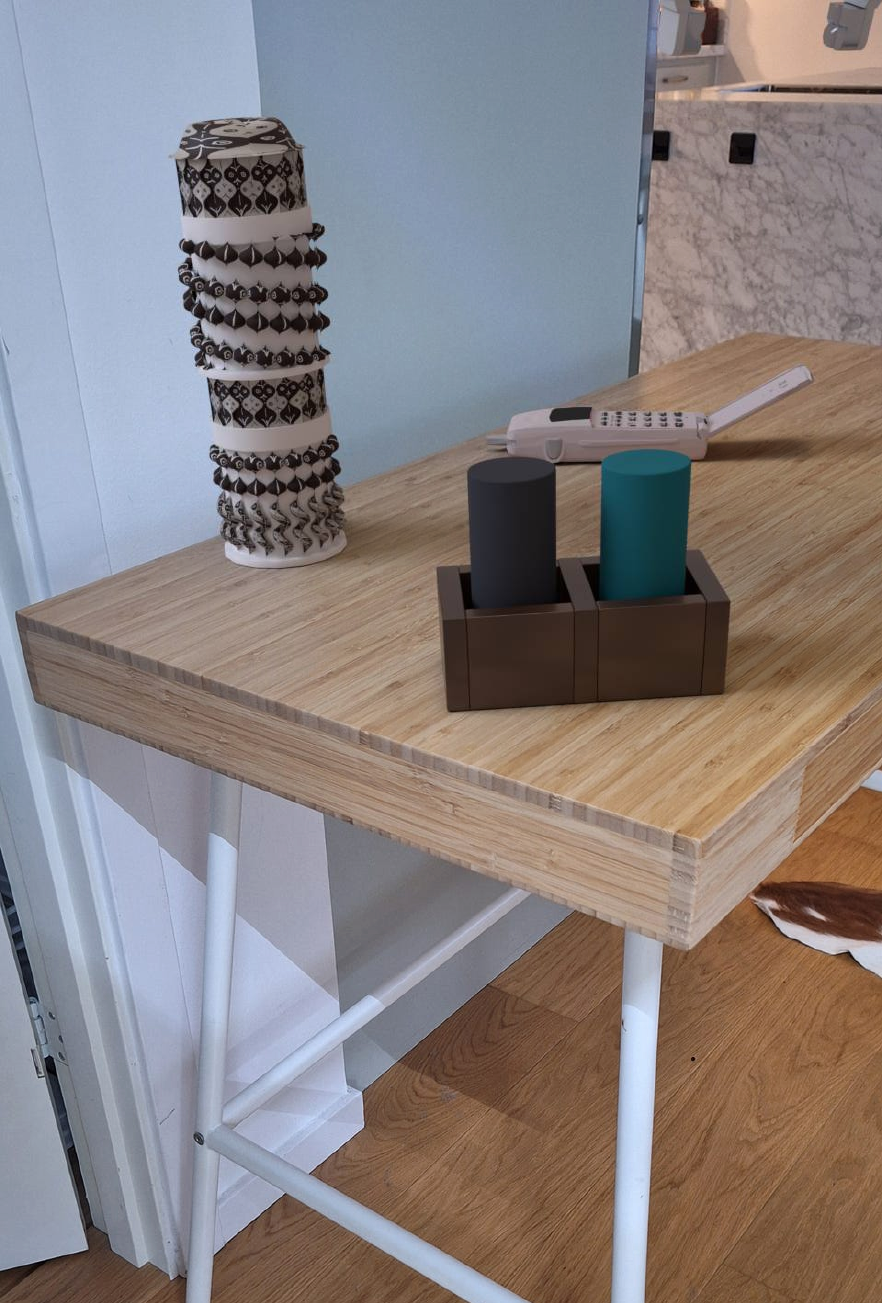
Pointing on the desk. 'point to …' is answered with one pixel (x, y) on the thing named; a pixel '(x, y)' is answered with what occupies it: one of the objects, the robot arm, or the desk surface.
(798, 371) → the mobile phone
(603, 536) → the teal cylinder
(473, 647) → the mount block
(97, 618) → the desk surface
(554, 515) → the seated dark gray cylinder
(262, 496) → the white patterned tall cylinder
